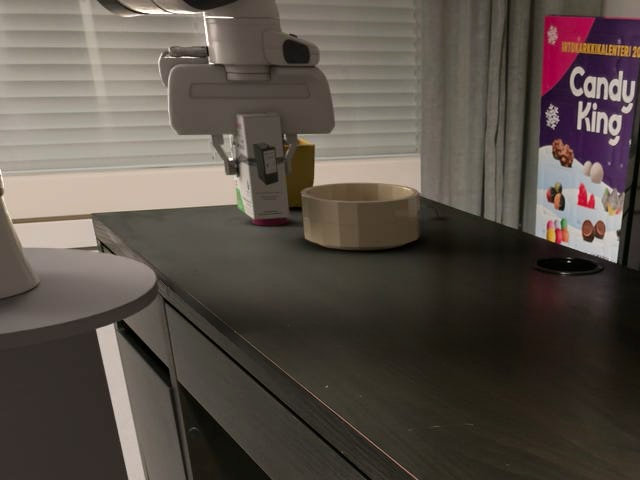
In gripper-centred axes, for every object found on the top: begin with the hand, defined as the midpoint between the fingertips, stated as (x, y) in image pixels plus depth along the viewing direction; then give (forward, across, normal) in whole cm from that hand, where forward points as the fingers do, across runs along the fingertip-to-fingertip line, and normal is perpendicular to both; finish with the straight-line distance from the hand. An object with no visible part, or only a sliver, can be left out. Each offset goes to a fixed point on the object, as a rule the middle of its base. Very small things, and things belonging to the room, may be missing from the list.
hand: (259, 174), depth 118 cm
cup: (+8, +1, +14) cm, 16 cm away
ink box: (+5, 0, 0) cm, 5 cm away
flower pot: (+8, +4, +27) cm, 29 cm away
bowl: (+8, +13, 0) cm, 15 cm away
